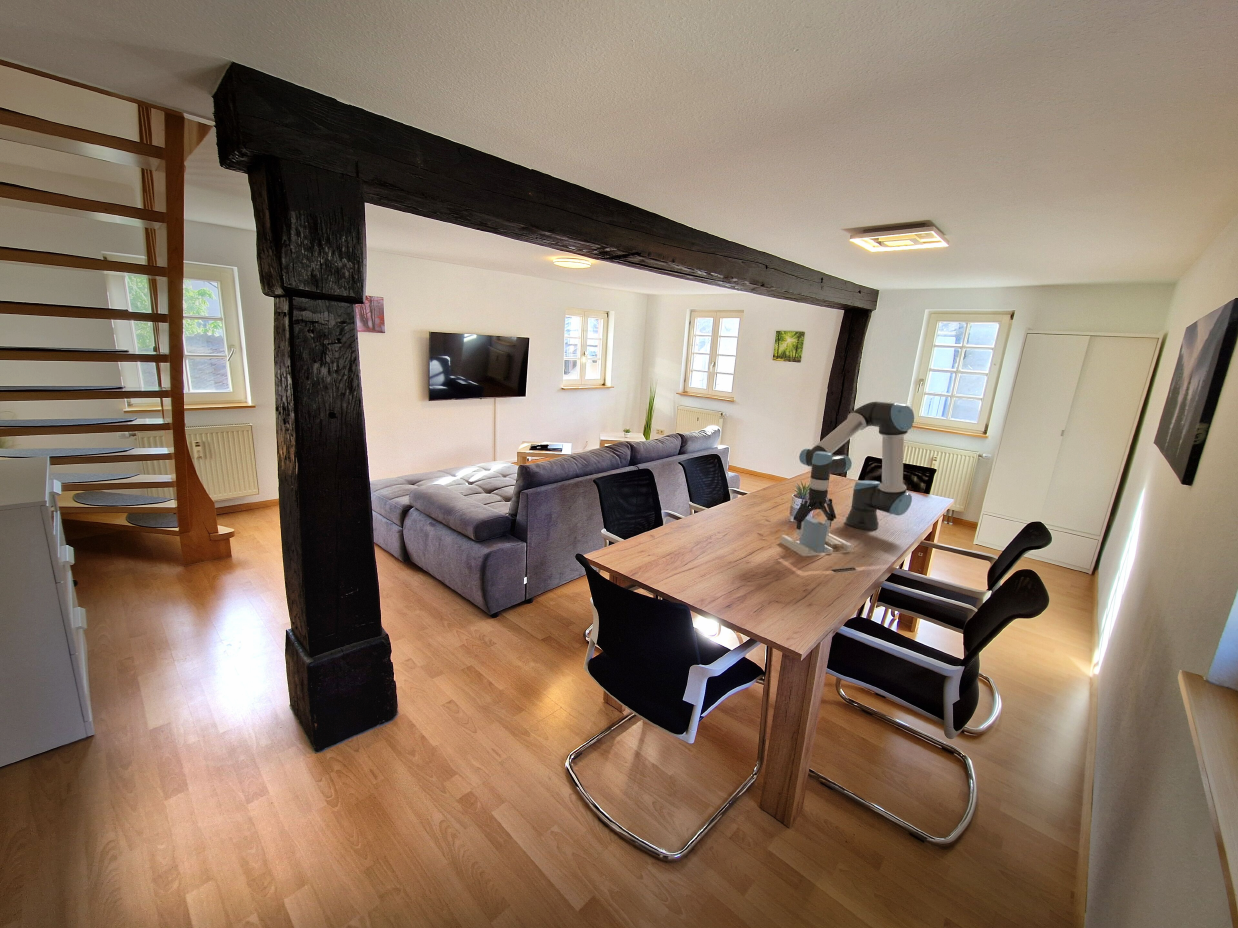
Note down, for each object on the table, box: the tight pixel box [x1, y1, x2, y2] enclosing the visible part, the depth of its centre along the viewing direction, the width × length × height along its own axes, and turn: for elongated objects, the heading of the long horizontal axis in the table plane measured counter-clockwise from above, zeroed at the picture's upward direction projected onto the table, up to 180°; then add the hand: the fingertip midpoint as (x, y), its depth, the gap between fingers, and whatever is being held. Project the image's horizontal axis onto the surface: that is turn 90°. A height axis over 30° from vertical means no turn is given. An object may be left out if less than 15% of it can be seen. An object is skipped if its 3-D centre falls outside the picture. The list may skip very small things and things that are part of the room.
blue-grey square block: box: [798, 516, 827, 553], centre depth 212 cm, size 4×12×12 cm, turn 16°
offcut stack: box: [825, 536, 845, 552], centre depth 216 cm, size 6×14×3 cm, turn 16°
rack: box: [780, 532, 853, 557], centre depth 214 cm, size 24×16×4 cm, turn 106°
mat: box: [831, 567, 857, 574], centre depth 199 cm, size 10×14×1 cm
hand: (812, 535), depth 212 cm, fingers open, 13 cm apart
